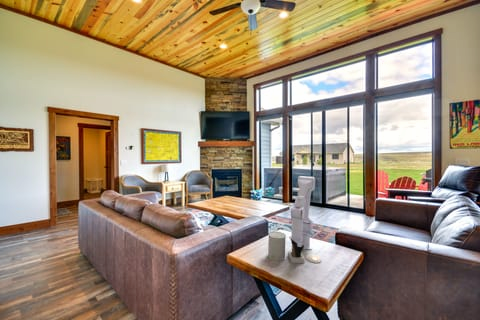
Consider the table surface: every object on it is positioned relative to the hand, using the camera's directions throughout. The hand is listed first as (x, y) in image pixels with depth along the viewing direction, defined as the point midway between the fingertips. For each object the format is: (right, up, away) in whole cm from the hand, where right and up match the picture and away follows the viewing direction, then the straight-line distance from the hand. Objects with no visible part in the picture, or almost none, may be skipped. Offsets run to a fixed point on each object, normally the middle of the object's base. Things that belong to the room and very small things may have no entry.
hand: (296, 253), depth 115 cm
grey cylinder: (-10, -3, +3) cm, 11 cm away
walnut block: (0, -3, 0) cm, 3 cm away
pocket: (0, -3, 0) cm, 3 cm away
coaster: (+10, -3, +1) cm, 10 cm away
